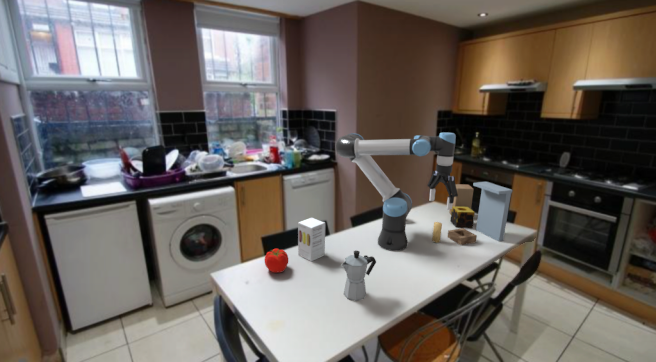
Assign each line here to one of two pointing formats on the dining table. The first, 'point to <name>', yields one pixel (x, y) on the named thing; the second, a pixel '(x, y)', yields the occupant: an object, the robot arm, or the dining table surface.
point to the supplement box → (311, 239)
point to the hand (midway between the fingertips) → (440, 204)
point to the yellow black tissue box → (462, 217)
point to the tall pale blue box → (493, 210)
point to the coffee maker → (356, 275)
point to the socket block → (462, 236)
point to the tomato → (276, 260)
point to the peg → (437, 232)
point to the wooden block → (463, 196)
